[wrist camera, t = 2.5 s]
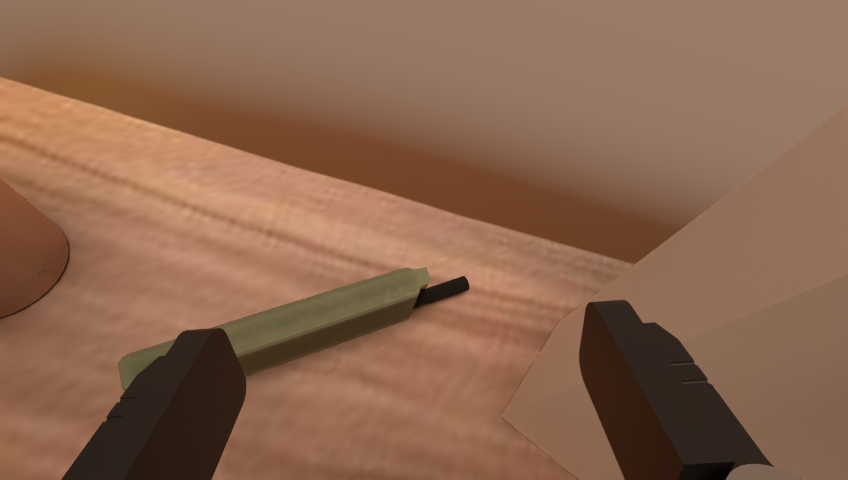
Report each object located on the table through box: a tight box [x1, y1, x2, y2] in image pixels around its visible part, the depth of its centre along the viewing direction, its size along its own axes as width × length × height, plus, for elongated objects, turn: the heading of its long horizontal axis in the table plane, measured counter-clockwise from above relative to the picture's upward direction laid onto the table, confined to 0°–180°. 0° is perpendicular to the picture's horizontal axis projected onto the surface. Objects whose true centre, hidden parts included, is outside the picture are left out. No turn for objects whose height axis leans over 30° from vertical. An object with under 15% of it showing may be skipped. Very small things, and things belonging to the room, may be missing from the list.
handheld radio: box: [118, 267, 469, 391], centre depth 32 cm, size 7×3×25 cm
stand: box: [501, 104, 848, 480], centre depth 21 cm, size 8×10×32 cm
